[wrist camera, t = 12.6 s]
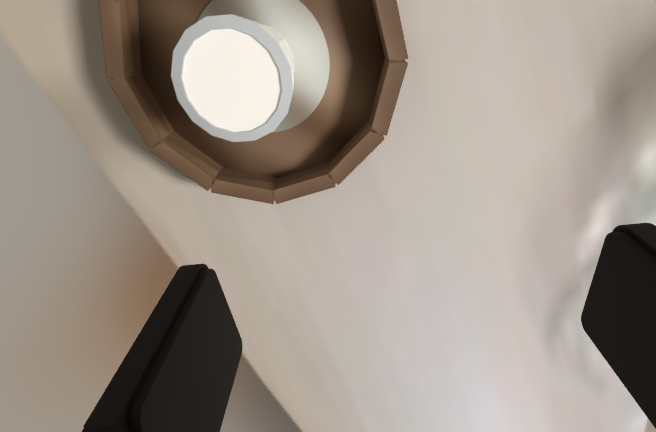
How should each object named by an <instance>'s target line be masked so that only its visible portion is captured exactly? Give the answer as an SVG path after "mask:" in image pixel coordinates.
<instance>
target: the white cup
mask: <svg viewBox="0 0 656 432" xmlns="http://www.w3.org/2000/svg"><path fill="white" fill-rule="evenodd" d="M171 78H172V82H173V85H174V89H175V92H176V96H177V99H178V101H179V103H180V104H181V106H182V107H183V109H184V110H185V111H186V113H187V114H188V116H189V117H190V118H191V120H192V121H193V122H194V123H196V124H197V125H198V126H200V127H201V128H202V129H204V130H205V131H206V132H208V133H209V134H211V135H212V136H215V137H219V138H222V139H225V140H228V141H232V142H242V141H255V140H257V139H259V138H261V137H263V136H265V135H267V134H269V133H271V132H273V131H274V130H275V129H276V128H277V126H278V125H279V124H280V123H281V121H282V120H283V119H284V118H285V116H286V115H287V114H288V110H289V106H290V103H291V99H292V95H293V91H294V63H293V55H292V52H291V50H290V48H289V46H288V44H287V42H286V41H285V39H284V38H283V37H282V36H281V35H280V34H279V33H278V32H277V31H275V30H274V29H273V28H272V27H270V26H267V25H264V24H261V23H258V22H256V21H252V20H249V19H246V18H242V17H239V16H236V15H232V14H228V15H218V16H207V17H205V18H203V19H201V20H200V21H198V22H197V23H195V24H194V25H192V26H191V27H189V28H187V29H186V30H185V31H184V33H183V35H182V37H181V38H180V40H179V42H178V44H177V45H176V47H175V49H174V51H173V59H172V69H171Z"/></svg>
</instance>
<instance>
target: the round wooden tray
mask: <svg viewBox="0 0 656 432" xmlns="http://www.w3.org/2000/svg"><path fill="white" fill-rule="evenodd" d="M99 7H100V17H101V27H102V37H103V47H104V57H105V67H106V77H109V78H114V79H113V80H111V81H108V82H109V84H110V85H111V87H112V89H113V90H114V92H115V94H116V95H117V97H118V99H119V100H120V102H121V104H122V105H123V107H124V109H125V110H126V112H127V114H128V115H129V117H130V119H131V120H132V122H133V124H134V125H135V127H136V128H137V130H138V132H139V133H140V135H141V137H142V138H143V140H144V142H145V143H146V145H147V147H148V148H149V147H152V146H154V148H153V149H152V152H153V153H155V154H156V155H158V156H159V157H160V158H162V159H163V160H165V161H166V162H167V163H169V164H170V165H172V166H173V167H175V168H176V169H177V170H179V171H180V172H182V173H183V174H184V175H186V176H187V177H189V178H190V179H192V180H193V181H194V182H196V183H197V184H199V185H200V186H201V187H203V188H204V189H206V190H207V191H208V190H209V189H210V188H211V186H212V188H211V192H212V193H217V194H222V195H228V196H233V197H238V198H244V199H249V200H254V201H260V202H265V203H270V204H273V203H274V200H275V201H276V203H277V204H278V203H281V202H285V201H288V200H292V199H295V198H299V197H302V196H305V195H309V194H312V193H316V192H319V191H323V190H326V189H329V188H333V187H335V183H337V184H338V185H339V184H340V183H341V182H342V181H343V180H344V179H345V178H346V177H347V176H348V175H349V174H350V173H351V172H352V171H353V170H354V169H355V168H356V167H357V166H358V165H359V164H360V163H361V162H362V161H363V160H364V159H365V158H366V157H367V156H368V155H369V154H370V153H371V152H372V151H373V150H374V149H375V148H376V147H377V146H378V145H379V144H380V143H381V142H382V141H383V140H384V136H383V135H386V136H387V132H388V129H389V126H390V122H391V119H392V115H393V112H394V109H395V105H396V102H397V99H398V95H399V92H400V88H401V85H402V82H403V78H404V75H405V71H406V68H407V65H408V63H407V62H406V61H404V60H405V59H408V55H407V50H406V46H405V41H404V36H403V31H402V26H401V21H400V16H399V11H398V6H397V1H396V0H99ZM228 14H232V15H236V16H239V17H242V18H246V19H249V20H252V21H256V22H258V23H261V24H264V25H267V26H270V27H272V28H273V29H274V30H275V31H277V32H278V33H279V34H280V35H281V36H282V37H283V38H284V39H285V41H286V42H287V44H288V46H289V48H290V50H291V52H292V55H293V63H294V91H293V95H292V99H291V103H290V106H289V110H288V114H287V115H286V116H285V118H284V119H283V120H282V121H281V123H280V124H279V125H278V126H277V128H276V129H275V130H274V131H273V132H271V133H269V134H267V135H265V136H263V137H261V138H259V139H257V140H255V141H242V142H232V141H228V140H225V139H222V138H219V137H215V136H212V135H211V134H209V133H208V132H206V131H205V130H204V129H202V128H201V127H200V126H198V125H197V124H196V123H194V122H193V121H192V120H191V118H190V117H189V116H188V114H187V113H186V111H185V110H184V109H183V107H182V106H181V104H180V103H179V101H178V99H177V96H176V92H175V89H174V85H173V82H172V78H171V69H172V59H173V51H174V49H175V47H176V45H177V44H178V42H179V40H180V38H181V37H182V35H183V33H184V31H185V30H186V29H187V28H189V27H191V26H192V25H194V24H195V23H197V22H198V21H200V20H201V19H203V18H205V17H207V16H218V15H228Z"/></svg>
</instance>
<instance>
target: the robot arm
mask: <svg viewBox="0 0 656 432" xmlns="http://www.w3.org/2000/svg"><path fill="white" fill-rule="evenodd" d="M581 322H582V326H583V328H584V330H585V332H586V333H587V335H588V336H589V337H590V339H591V340H592V341H593V343H594V344H595V346H596V347H597V348H598V350H599V351H600V352H601V354H602V355H603V357H604V358H605V359H606V361H607V362H608V364H609V365H610V366H611V368H612V369H613V370H614V372H615V373H616V375H617V376H618V377H619V379H620V380H621V381H622V383H623V384H624V386H625V387H626V388H627V390H628V391H629V392H630V394H631V395H632V397H633V398H634V399H635V401H636V402H637V403H638V405H639V406H640V408H641V409H642V410H643V412H644V413H645V414H646V416H647V417H648V419H649V420H650V421H651V423H652V424H653V425H654V427H655V428H656V226H655V225H653V224H651V223H640V224H629V225H620V226H617V227H616V228H615V229H614V230H613V232H612V233H609V234H608V235H607V236H606V238H605V241H604V244H603V247H602V251H601V254H600V257H599V260H598V263H597V267H596V270H595V273H594V276H593V280H592V283H591V286H590V289H589V293H588V296H587V299H586V302H585V305H584V309H583V312H582V316H581ZM241 354H242V340H241V337H240V334H239V332H238V329H237V327H236V324H235V321H234V319H233V316H232V314H231V311H230V309H229V306H228V303H227V301H226V298H225V296H224V293H223V291H222V288H221V285H220V283H219V280H218V278H217V275H216V273H215V271H214V270H213V269H209V268H208V267H207V266H206V265H205V264H196V265H185V266H181V267H180V268H179V269H178V270H177V272H176V274H175V276H174V277H173V279H172V281H171V282H170V284H169V285H168V287H167V289H166V291H165V292H164V294H163V295H162V297H161V299H160V300H159V302H158V304H157V305H156V307H155V309H154V310H153V312H152V314H151V315H150V317H149V319H148V320H147V322H146V324H145V325H144V327H143V329H142V330H141V332H140V334H139V335H138V337H137V338H136V340H135V342H134V343H133V345H132V347H131V349H130V350H129V352H128V353H127V355H126V357H125V358H124V360H123V362H122V364H121V365H120V367H119V368H118V370H117V372H116V373H115V375H114V377H113V378H112V380H111V382H110V383H109V385H108V387H107V388H106V390H105V392H104V393H103V395H102V397H101V398H100V400H99V402H98V403H97V405H96V406H95V408H94V410H93V412H92V413H91V415H90V417H89V418H88V420H87V421H86V423H85V425H84V429H83V431H82V432H220V428H221V425H222V421H223V418H224V414H225V410H226V407H227V403H228V400H229V396H230V393H231V389H232V386H233V382H234V378H235V375H236V371H237V368H238V364H239V361H240V358H241Z"/></svg>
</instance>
